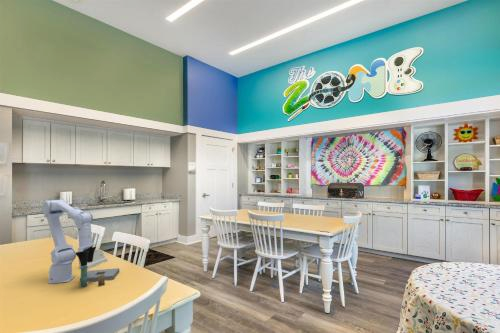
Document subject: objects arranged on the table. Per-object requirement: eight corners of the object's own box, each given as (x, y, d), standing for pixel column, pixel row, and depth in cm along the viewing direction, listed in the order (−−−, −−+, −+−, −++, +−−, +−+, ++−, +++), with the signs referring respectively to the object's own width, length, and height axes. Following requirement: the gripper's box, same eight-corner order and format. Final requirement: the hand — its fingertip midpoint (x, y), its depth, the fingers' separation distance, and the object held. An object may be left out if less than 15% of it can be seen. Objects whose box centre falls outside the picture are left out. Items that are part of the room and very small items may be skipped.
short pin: (97, 286, 129) (97, 277, 129) (99, 284, 132) (99, 275, 132) (103, 285, 130) (103, 276, 130) (105, 283, 133) (105, 274, 133)
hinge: (86, 269, 153) (82, 253, 154) (80, 271, 154) (76, 255, 155) (108, 260, 169) (104, 246, 171) (102, 262, 170) (98, 248, 172)
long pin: (79, 288, 127) (79, 267, 128) (81, 285, 130) (82, 265, 130) (85, 287, 128) (86, 267, 128) (87, 285, 131) (88, 265, 131)
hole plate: (79, 282, 134) (79, 278, 134) (88, 274, 146) (88, 270, 146) (113, 279, 138) (113, 275, 138) (119, 271, 149) (119, 268, 149)
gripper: (88, 237, 126) (90, 265, 124) (98, 233, 140) (100, 259, 138) (72, 239, 124) (74, 268, 123) (84, 236, 138) (86, 261, 137)
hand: (87, 263), depth 130 cm, fingers open, 7 cm apart
